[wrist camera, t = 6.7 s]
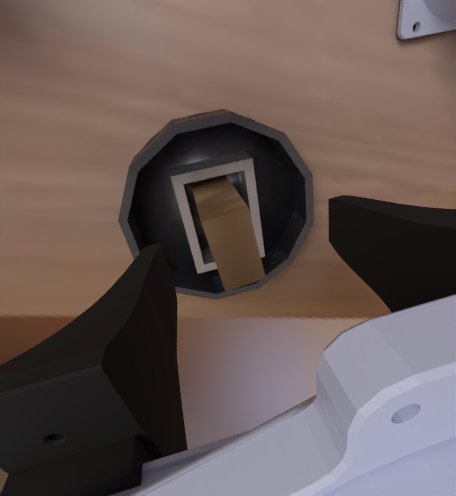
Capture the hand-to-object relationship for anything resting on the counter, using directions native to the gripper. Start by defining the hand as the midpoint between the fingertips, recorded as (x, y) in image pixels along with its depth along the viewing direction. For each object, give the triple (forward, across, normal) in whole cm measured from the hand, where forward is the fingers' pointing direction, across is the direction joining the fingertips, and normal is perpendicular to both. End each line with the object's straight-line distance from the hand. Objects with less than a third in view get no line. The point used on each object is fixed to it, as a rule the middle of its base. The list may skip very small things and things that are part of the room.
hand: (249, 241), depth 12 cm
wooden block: (+9, 0, +2) cm, 9 cm away
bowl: (+9, 0, +2) cm, 10 cm away
